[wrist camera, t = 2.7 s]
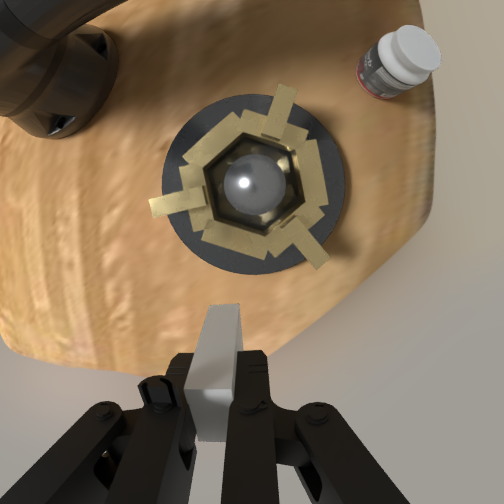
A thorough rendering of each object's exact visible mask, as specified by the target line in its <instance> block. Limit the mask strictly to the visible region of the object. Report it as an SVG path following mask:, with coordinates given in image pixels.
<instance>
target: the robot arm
mask: <svg viewBox="0 0 504 504" xmlns="http://www.w3.org/2000/svg"><path fill="white" fill-rule="evenodd" d="M126 1H128V0H0V116H4V117H8V118H9V119H11V120H12V121H13V122H15V123H16V124H17V125H18V126H20V127H21V128H22V129H24V130H25V131H26V132H28V133H29V134H31V135H33V136H35V137H39V138H46V139H59V138H63V137H66V136H69V135H71V134H73V133H74V132H76V131H78V130H79V129H80V128H82V127H83V126H84V125H85V124H86V123H88V122H89V121H90V120H91V119H92V118H93V116H94V115H95V114H96V113H97V112H98V110H99V109H100V108H101V106H102V105H103V103H104V102H105V100H106V99H107V97H108V95H109V93H110V91H111V89H112V86H113V84H114V81H115V78H116V74H117V69H118V52H117V48H116V45H115V43H114V42H113V40H112V39H111V38H110V37H109V36H108V35H107V34H106V33H105V32H104V31H103V30H101V29H100V28H98V27H96V26H93V25H89V24H86V23H87V22H89V21H91V20H92V19H94V18H96V17H97V16H99V15H101V14H103V13H105V12H106V11H108V10H110V9H112V8H114V7H116V6H118V5H120V4H122V3H124V2H126ZM138 389H139V391H140V394H141V397H142V399H143V402H144V406H143V408H139V409H134V410H125V411H122V409H121V408H120V406H119V405H118V404H116V403H115V402H110V401H105V402H99V403H97V404H95V405H94V406H92V407H91V408H90V409H89V410H88V411H87V412H86V413H85V414H84V415H83V416H82V417H81V418H80V419H79V420H78V421H77V422H76V423H75V424H74V425H73V426H72V427H71V428H70V429H69V430H68V431H67V432H66V433H65V434H64V435H63V436H62V437H61V438H60V439H59V440H58V441H57V442H56V443H55V444H54V445H53V446H52V447H51V448H50V449H49V450H48V451H47V452H46V453H45V454H44V455H43V456H42V457H41V458H40V459H39V460H38V461H37V462H36V463H35V464H34V465H33V466H32V467H31V468H30V469H29V470H28V471H27V472H26V473H25V474H24V475H23V476H22V477H21V478H20V479H19V480H18V481H17V482H16V483H15V484H14V485H13V486H12V487H11V488H10V489H9V490H8V491H7V492H6V493H5V494H4V495H3V496H2V497H1V498H0V504H188V501H189V495H190V489H191V483H192V477H193V471H194V465H195V460H196V454H197V450H196V446H195V443H194V442H195V436H196V434H197V437H198V441H206V442H226V449H225V459H224V471H223V483H222V494H221V504H279V491H278V479H277V466H276V463H277V464H283V465H289V466H294V468H295V471H296V473H297V475H298V477H299V479H300V481H301V483H302V485H303V487H304V489H305V491H306V493H307V495H308V497H309V499H310V501H311V503H312V504H410V503H409V502H408V500H407V499H406V498H405V497H404V495H403V494H402V493H401V492H400V490H399V489H398V488H397V487H396V486H395V484H394V483H393V482H392V480H391V479H390V478H389V477H388V475H387V474H386V473H385V472H384V470H383V469H382V468H381V466H380V465H379V464H378V463H377V461H376V460H375V459H374V457H373V456H372V455H371V454H370V452H369V451H368V450H367V448H366V447H365V446H364V445H363V443H362V442H361V441H360V439H359V438H358V437H357V435H356V434H355V433H354V432H353V430H352V429H351V427H350V426H349V425H348V424H347V422H346V421H345V420H344V418H343V417H342V416H341V414H340V413H339V412H338V410H337V409H335V408H334V407H333V406H332V405H330V404H327V403H322V402H314V403H308V404H306V405H304V406H302V407H301V408H300V409H299V410H298V411H293V410H287V409H283V408H281V407H279V406H277V405H276V404H275V403H274V402H273V401H272V400H271V396H270V387H269V374H268V363H267V356H266V355H265V354H264V352H263V351H262V350H251V351H243V340H242V329H241V318H240V307H239V304H223V305H210V306H209V309H208V312H207V315H206V318H205V321H204V325H203V328H202V331H201V334H200V337H199V340H198V344H197V347H196V350H195V353H178V354H177V355H176V356H175V357H174V358H173V359H172V360H171V362H170V364H169V367H168V369H167V372H166V375H165V376H163V375H157V376H152V377H148V378H146V379H144V380H143V381H141V382H140V384H139V385H138ZM105 451H107V452H106V453H105V454H103V453H104V452H105Z"/></svg>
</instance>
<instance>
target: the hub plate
mask: <svg viewBox="0 0 504 504" xmlns="http://www.w3.org/2000/svg"><path fill="white" fill-rule="evenodd" d="M273 99H274V96H268V95H261V94H247V95H238V96H233V97H229V98H225V99H223V100H220V101H217V102H215V103H213V104H211V105H209V106H207V107H206V108H204V109H203V110H201V111H200V112H198V113H197V114H196V115H194V116H193V117H192V118H191V119H190V120H189V121H188V122H187V123H186V124H185V125H184V126H183V128H182V129H181V130H180V131H179V133H178V134H177V136H176V137H175V139H174V141H173V142H172V144H171V147H170V149H169V151H168V153H167V156H166V160H165V163H164V168H163V175H162V194H163V196H164V195H167V194H171V193H175V192H179V191H183V190H184V189H183V185H182V180H181V176H180V171H179V167H182V166H185V165H189V163H188V162H187V161H186V160H185V159H184V158H183V157H182V156H183V155H184V154H185V153H186V152H187V151H188V150H190V149H191V148H192V147H193V146H194V145H195V144H196V143H197V142H198V141H199V140H200V139H201V138H203V137H204V136H205V135H206V134H207V133H208V132H209V131H210V130H211V129H213V128H214V127H215V126H216V125H217V124H218V123H219V122H221V121H222V120H223V119H224V118H225V117H226V116H228V115H229V114H230V113H231V112H232V111H233V112H234V113H235V114H236V115H237V116H238V117H239V118H240V119H241V116H242V113H243V110H244V109H246V110H249V111H252V112H256V113H259V114H262V115H265V116H267V115H268V113H269V110H270V107H271V104H272V101H273ZM287 123H289V124H292V125H295V126H297V127H300V128H303V129H306V130H308V134H307V137H306V140H305V141H307V140H314V139H316V141H317V146H318V150H319V155H320V160H321V165H322V170H323V175H324V181H325V186H326V192H327V197H328V203H329V204H328V205H323V206H318V207H319V208H320V209H321V211H322V212H323V213H324V214H325V215H324V216H323V217H322V218H321V219H320V220H319V221H317V222H316V223H315V224H314V225H313V226H312V227H311V228H309V229H308V231H309V232H310V233H311V235H312V236H313V237H314V238H315V239H316V241H317V242H318V243H319V244H320V245H322V244H323V243H324V241H325V240H326V239H327V238H328V236H329V235H330V233H331V232H332V230H333V229H334V227H335V224H336V222H337V220H338V218H339V215H340V212H341V209H342V206H343V201H344V195H345V175H344V168H343V164H342V159H341V157H340V154H339V151H338V149H337V147H336V145H335V143H334V141H333V139H332V137H331V136H330V134H329V133H328V131H327V130H326V129H325V128H324V126H323V125H322V124H321V123H320V122H319V121H318V120H317V119H316V118H315V117H314V116H312V115H311V114H310V113H309V112H307V111H306V110H304V109H303V108H301V107H300V106H298V105H296V104H294V103H293V105H292V108H291V111H290V114H289V117H288V120H287ZM250 154H260V155H264V156H267V157H269V158H271V159H272V160H274V161H275V162H276V163H277V164H278V165H279V166H280V168H281V169H282V171H283V173H284V176H285V181H286V189H285V193H284V196H283V198H282V200H281V202H280V203H279V204H278V205H277V206H276V207H275V208H274V209H273V210H271V211H269V212H268V213H265V214H261V215H249V214H245V213H242V212H240V211H239V210H237V209H236V208H234V207H233V206H232V205H231V203H230V202H229V201H228V199H227V197H226V194H225V190H224V179H225V175H226V172H227V170H228V169H229V167H230V166H231V165H232V163H234V162H235V161H236V160H237V159H239V158H241V157H243V156H246V155H250ZM207 171H208V175H209V180H210V184H211V189H212V194H213V198H214V203H215V207H216V211H217V216H218V217H221V218H224V219H227V220H230V221H233V222H237V223H240V224H243V225H246V226H249V227H252V228H255V229H258V230H261V231H265V230H266V229H267V228H268V227H269V226H270V225H271V224H273V223H274V222H275V221H276V220H277V219H278V218H280V217H281V216H282V215H283V214H284V213H285V212H286V211H288V210H289V209H290V208H291V207H292V206H293V205H294V204H296V203H297V202H298V201H299V200H300V197H299V191H298V186H297V181H296V176H295V171H294V166H293V161H292V157H291V152H288V151H285V150H282V149H280V148H277V147H274V146H271V145H268V144H265V143H262V142H259V141H255V140H252V139H249V138H246V137H243V138H242V139H241V140H240V141H238V142H237V143H236V144H235V145H234V146H233V147H232V148H230V149H229V150H228V151H227V152H226V153H225V154H224V155H223V156H221V157H220V158H219V159H218V160H217V161H216V162H215V163H214V164H213V165H211V166H210V167H209V168H208V169H207ZM168 218H169V220H170V223H171V225H172V226H173V228H174V230H175V232H176V233H177V235H178V236H179V237H180V239H181V240H182V241H183V243H184V244H185V245H186V246H187V247H188V248H189V249H190V250H191V251H192V252H193V253H195V254H196V255H197V256H198V257H200V258H201V259H203V260H204V261H206V262H208V263H209V264H211V265H213V266H216V267H218V268H220V269H223V270H226V271H229V272H233V273H239V274H247V275H260V274H269V273H273V272H278V271H281V270H284V269H287V268H290V267H292V266H294V265H296V264H298V263H300V262H301V261H303V260H304V259H306V258H305V256H304V255H303V254H302V253H301V252H300V251H299V249H298V248H297V247H296V246H295V245H294V244H293V243H292V244H291V245H290V246H289V247H287V248H286V249H285V250H284V251H283V252H282V253H280V254H279V255H278V256H277V257H276V258H275V257H274V256H273V255H272V254H271V253H270V252H269V251H267V254H266V257H265V259H264V260H262V259H259V258H256V257H253V256H249V255H246V254H243V253H240V252H237V251H234V250H231V249H227V248H224V247H221V246H218V245H215V244H212V243H209V242H205V241H202V240H201V239H202V235H203V232H204V230H200V231H196V232H193V228H192V224H191V220H190V215H189V211H188V210H184V211H180V212H176V213H172V214H168Z"/></svg>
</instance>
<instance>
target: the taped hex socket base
mask: <svg viewBox="0 0 504 504" xmlns="http://www.w3.org/2000/svg"><path fill="white" fill-rule="evenodd" d="M297 91H298V90H297V89H294V88H292V87H289V86H286V85H283V84H280V83H279V85H278V88H277V90H276V93H275V96H274V99H273V101H272V104H271V107H270V110H269V113H268V115H267V116H265V115H262V114H259V113H256V112H252V111H249V110H246V109H244V110H243V113H242V116H241V119H240V118H239V117H238V116H237V115H236V114H235V113H234V112H233V111H232V112H231V113H230V114H229V115H228V116H226V117H225V118H224V119H223V120H222V121H221V122H219V123H218V124H217V125H216V126H215V127H214V128H213V129H211V130H210V131H209V132H208V133H207V134H206V135H205V136H204V137H203V138H201V139H200V140H199V141H198V142H197V143H196V144H195V145H194V146H193V147H192V148H191V149H190V150H188V151H187V152H186V153H185V154H184V155H183V156H182V157H183V158H184V159H185V160H186V161H187V162H188V163H189V165H185V166H182V167H179V171H180V176H181V180H182V185H183V189H184V190H183V191H179V192H175V193H171V194H167V195H164V196H160V197H156V198H153V199H149V203H150V207H151V211H152V215H153V218H156V217H160V216H164V215H168V214H172V213H176V212H180V211H184V210H188V211H189V215H190V220H191V224H192V228H193V232H196V231H200V230H204V232H203V235H202V239H201V240H202V241H205V242H209V243H212V244H215V245H218V246H221V247H224V248H227V249H231V250H234V251H237V252H240V253H243V254H246V255H249V256H253V257H256V258H259V259H262V260H264V259H265V257H266V254H267V251H269V252H270V253H271V254H272V255H273V256H274V257H275V258H276V257H277V256H278V255H279V254H280V253H282V252H283V251H284V250H285V249H286V248H287V247H289V246H290V245H291V244H292V243H293V244H294V245H295V246H296V247H297V248H298V249H299V251H300V252H301V253H302V254H303V255H304V256H305V258H306V259H307V260H308V261H309V262H310V263H311V265H312V266H313V267H314V268H315V269H316V270H317V269H318V268H319V267H321V266H322V265H323V264H324V263H325V262H326V261H328V260H329V259H330V257H329V255H328V254H327V253H326V252H325V250H324V249H323V248H322V247H321V245H320V244H319V243H318V242H317V241H316V239H315V238H314V237H313V236H312V235H311V233H310V232H309V231H308V229H309V228H311V227H312V226H313V225H314V224H315V223H316V222H317V221H319V220H320V219H321V218H322V217H323V216H324V215H325V214H324V213H323V212H322V211H321V209H320V208H319V207H318V206H323V205H328V204H329V203H328V197H327V192H326V186H325V181H324V175H323V170H322V165H321V160H320V155H319V150H318V146H317V141H316V139H314V140H307V141H305V140H306V137H307V134H308V130H306V129H303V128H300V127H297V126H295V125H292V124H289V123H287V120H288V117H289V114H290V111H291V108H292V105H293V102H294V99H295V97H296V94H297ZM243 137H246V138H249V139H252V140H255V141H259V142H262V143H265V144H268V145H271V146H274V147H277V148H280V149H282V150H285V151H288V152H291V157H292V161H293V166H294V171H295V176H296V181H297V186H298V191H299V197H300V200H299V201H298V202H297V203H296V204H294V205H293V206H292V207H291V208H290V209H289V210H288V211H286V212H285V213H284V214H283V215H282V216H281V217H280V218H278V219H277V220H276V221H275V222H274V223H273V224H271V225H270V226H269V227H268V228H267V229H266V230H265V231H261V230H258V229H255V228H252V227H249V226H246V225H243V224H240V223H237V222H233V221H230V220H227V219H224V218H221V217H218V216H217V211H216V207H215V203H214V198H213V194H212V189H211V184H210V180H209V175H208V171H207V169H208V168H209V167H210V166H211V165H213V164H214V163H215V162H216V161H217V160H218V159H219V158H220V157H221V156H223V155H224V154H225V153H226V152H227V151H228V150H229V149H230V148H232V147H233V146H234V145H235V144H236V143H237V142H238V141H240V140H241V139H242V138H243Z"/></svg>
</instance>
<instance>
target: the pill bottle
mask: <svg viewBox="0 0 504 504" xmlns="http://www.w3.org/2000/svg"><path fill="white" fill-rule="evenodd" d="M440 64H441V53H440V50H439V47H438V45H437V44H436V42H435V41H434V39H433V38H432V37H431V36H430V35H429V34H428V33H427V32H426V31H424V30H423V29H421V28H419V27H417V26H414V25H404V26H402V27H400V28H399V29H398V30H397V31H395V32H390V33H388V34H386V35H384V36H383V37H382V38H380V39H379V40H378V41H377V42H376V43H375V44H374V45H373V46H372V47H371V48H370V49H369V50H368V51H367V52H366V53H365V54H364V55H363V56H362V57H361V58H360V60H359V61H358V63H357V65H356V76H357V79H358V81H359V83H360V85H361V86H362V87H363V89H364V90H365V91H366V92H368V93H369V94H370V95H372V96H374V97H376V98H380V99H390V98H393V97H395V96H397V95H399V94H401V93H403V92H405V91H407V90H409V89H411V88H413V87H415V86H417V85H419V84H421V83H422V82H424V81H425V80H426V79H427V78H428V76H429V75H430V73H431V72H433V71H434V70H436V69H437V68H438V67H439V66H440Z"/></svg>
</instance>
